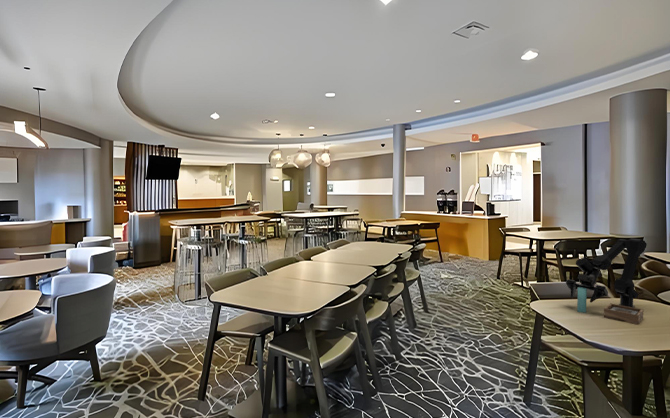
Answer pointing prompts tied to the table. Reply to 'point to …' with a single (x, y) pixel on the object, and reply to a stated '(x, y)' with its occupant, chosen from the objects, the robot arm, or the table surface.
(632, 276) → the robot arm
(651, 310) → the table surface
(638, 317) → the tray
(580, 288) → the peg
